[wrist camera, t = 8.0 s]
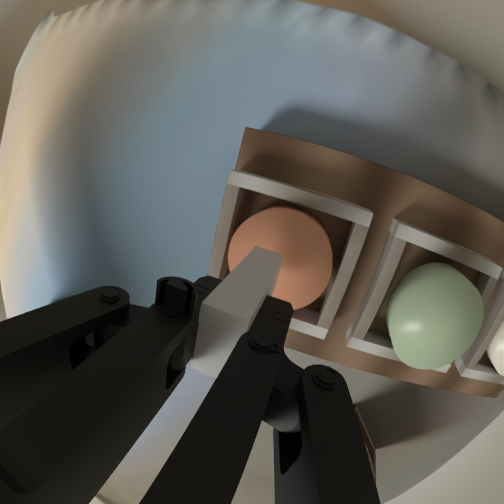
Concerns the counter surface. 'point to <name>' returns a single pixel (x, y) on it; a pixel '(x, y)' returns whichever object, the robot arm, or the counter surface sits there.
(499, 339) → the cream button
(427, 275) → the sage button
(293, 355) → the counter surface
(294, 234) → the terracotta button
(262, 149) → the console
